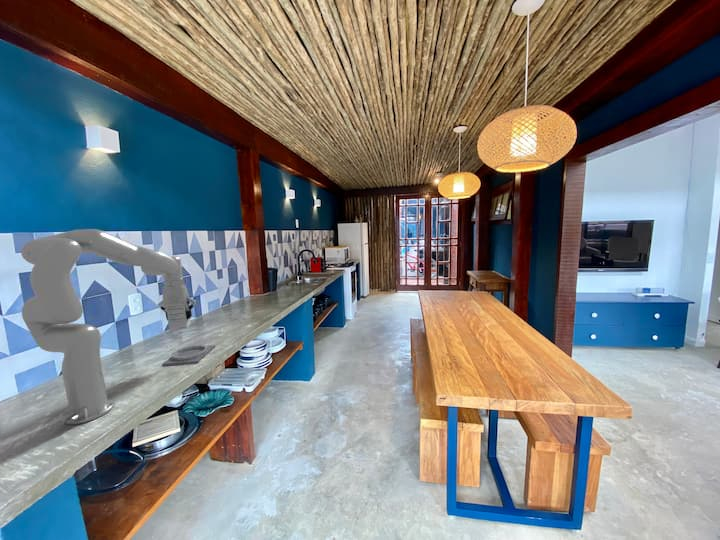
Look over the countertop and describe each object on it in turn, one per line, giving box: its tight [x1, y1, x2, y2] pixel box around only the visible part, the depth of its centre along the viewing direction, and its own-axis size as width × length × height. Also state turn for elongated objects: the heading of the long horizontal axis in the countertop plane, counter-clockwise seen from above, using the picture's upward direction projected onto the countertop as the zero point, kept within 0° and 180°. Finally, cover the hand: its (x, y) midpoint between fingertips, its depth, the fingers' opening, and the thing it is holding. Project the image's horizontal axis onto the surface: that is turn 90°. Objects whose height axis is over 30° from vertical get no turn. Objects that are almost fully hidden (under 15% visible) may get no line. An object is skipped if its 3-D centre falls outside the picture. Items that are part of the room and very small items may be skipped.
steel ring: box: [171, 344, 208, 361], centre depth 144 cm, size 15×15×2 cm
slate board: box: [161, 344, 216, 367], centre depth 144 cm, size 20×16×1 cm
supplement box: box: [166, 303, 192, 331], centre depth 135 cm, size 7×7×13 cm
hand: (179, 318), depth 136 cm, fingers closed on supplement box, 8 cm apart
